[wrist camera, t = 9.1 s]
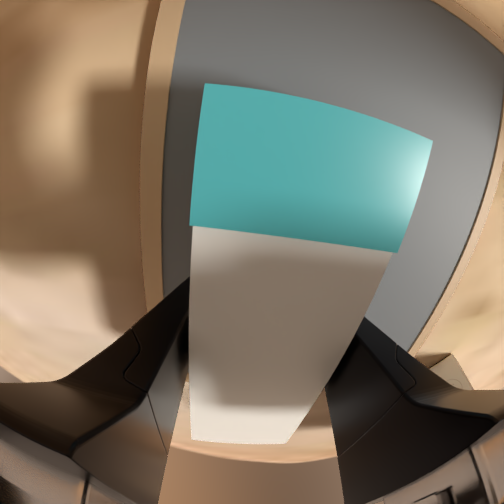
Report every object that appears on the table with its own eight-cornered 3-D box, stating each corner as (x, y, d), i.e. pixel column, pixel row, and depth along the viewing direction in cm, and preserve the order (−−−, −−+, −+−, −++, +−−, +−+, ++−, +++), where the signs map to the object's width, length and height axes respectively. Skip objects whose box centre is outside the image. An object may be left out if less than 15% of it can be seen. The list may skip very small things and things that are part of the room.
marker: (354, 121, 8) (433, 141, 4) (270, 394, 14) (276, 458, 11) (222, 95, 7) (204, 83, 4) (197, 389, 14) (191, 454, 10)
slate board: (505, 51, 6) (514, 52, 5) (392, 373, 16) (395, 381, 15) (187, -64, 4) (184, -72, 4) (159, 368, 15) (157, 377, 14)
